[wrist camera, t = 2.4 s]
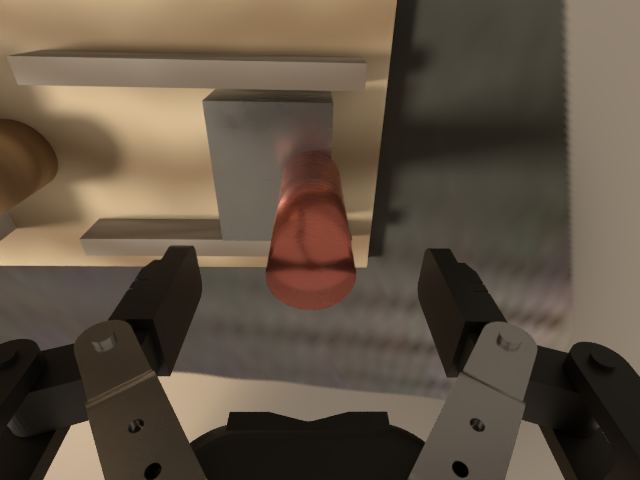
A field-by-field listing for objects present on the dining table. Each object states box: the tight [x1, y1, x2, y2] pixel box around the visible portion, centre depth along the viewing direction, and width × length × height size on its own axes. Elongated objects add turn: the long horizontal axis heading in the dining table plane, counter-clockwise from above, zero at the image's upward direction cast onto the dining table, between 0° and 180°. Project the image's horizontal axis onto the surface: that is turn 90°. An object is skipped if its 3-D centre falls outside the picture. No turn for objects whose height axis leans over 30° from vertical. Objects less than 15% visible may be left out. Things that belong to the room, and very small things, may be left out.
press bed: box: [0, 0, 397, 267], centre depth 20 cm, size 16×28×6 cm, turn 89°
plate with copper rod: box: [202, 89, 356, 310], centre depth 17 cm, size 8×6×11 cm
